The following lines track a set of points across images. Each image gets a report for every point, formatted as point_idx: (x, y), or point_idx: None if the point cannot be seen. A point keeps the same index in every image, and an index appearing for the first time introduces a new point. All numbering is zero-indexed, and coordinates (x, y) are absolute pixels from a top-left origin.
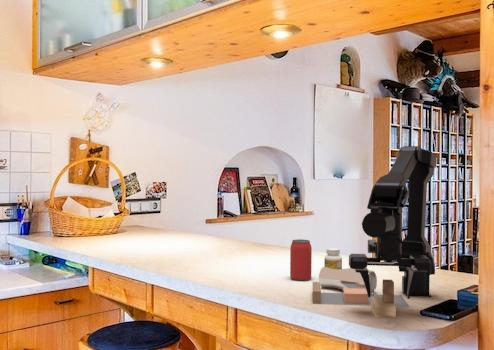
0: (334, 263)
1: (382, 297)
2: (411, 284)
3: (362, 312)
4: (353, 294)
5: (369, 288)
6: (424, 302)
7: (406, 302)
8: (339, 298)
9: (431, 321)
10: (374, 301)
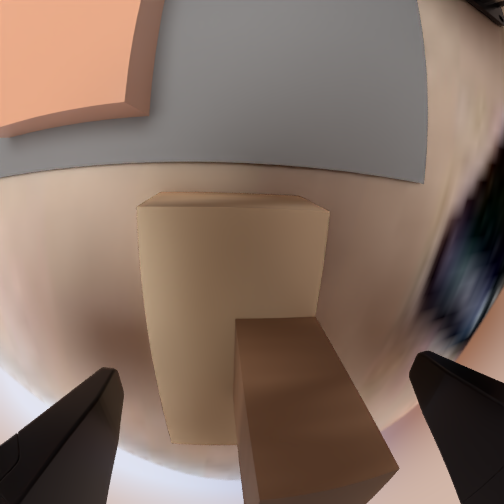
0: None
1: (236, 333)
2: (453, 470)
3: (105, 308)
4: (13, 124)
5: (105, 473)
6: (486, 81)
7: (426, 82)
8: None
9: (405, 384)
10: (162, 368)
